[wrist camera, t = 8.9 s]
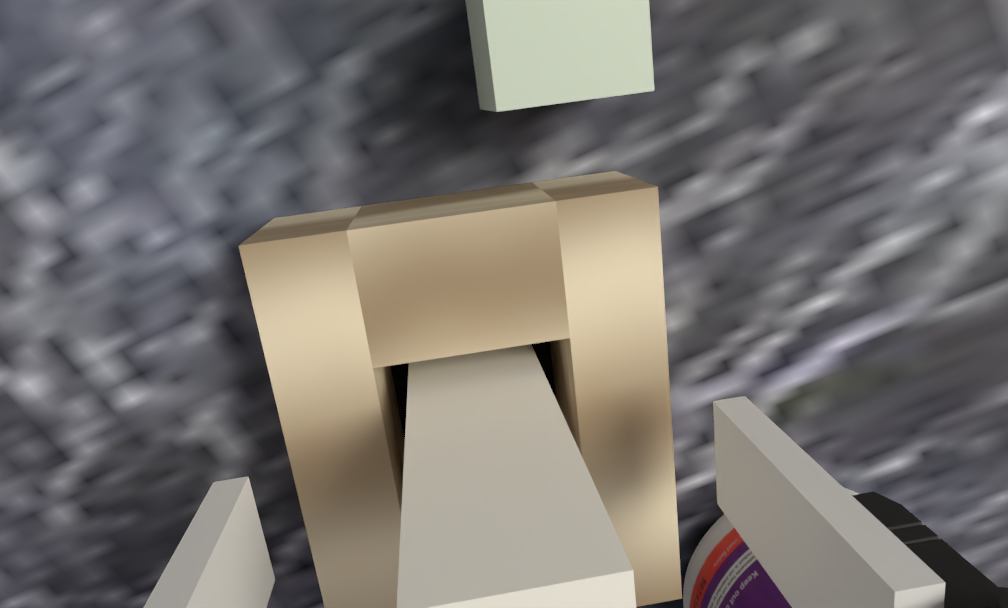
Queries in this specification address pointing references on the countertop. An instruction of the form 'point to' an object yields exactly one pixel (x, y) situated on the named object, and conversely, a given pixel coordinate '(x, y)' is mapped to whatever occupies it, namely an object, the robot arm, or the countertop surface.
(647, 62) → the short peg
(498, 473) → the long peg
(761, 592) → the pill bottle
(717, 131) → the countertop surface
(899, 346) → the countertop surface
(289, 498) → the countertop surface
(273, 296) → the hole block
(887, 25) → the countertop surface
